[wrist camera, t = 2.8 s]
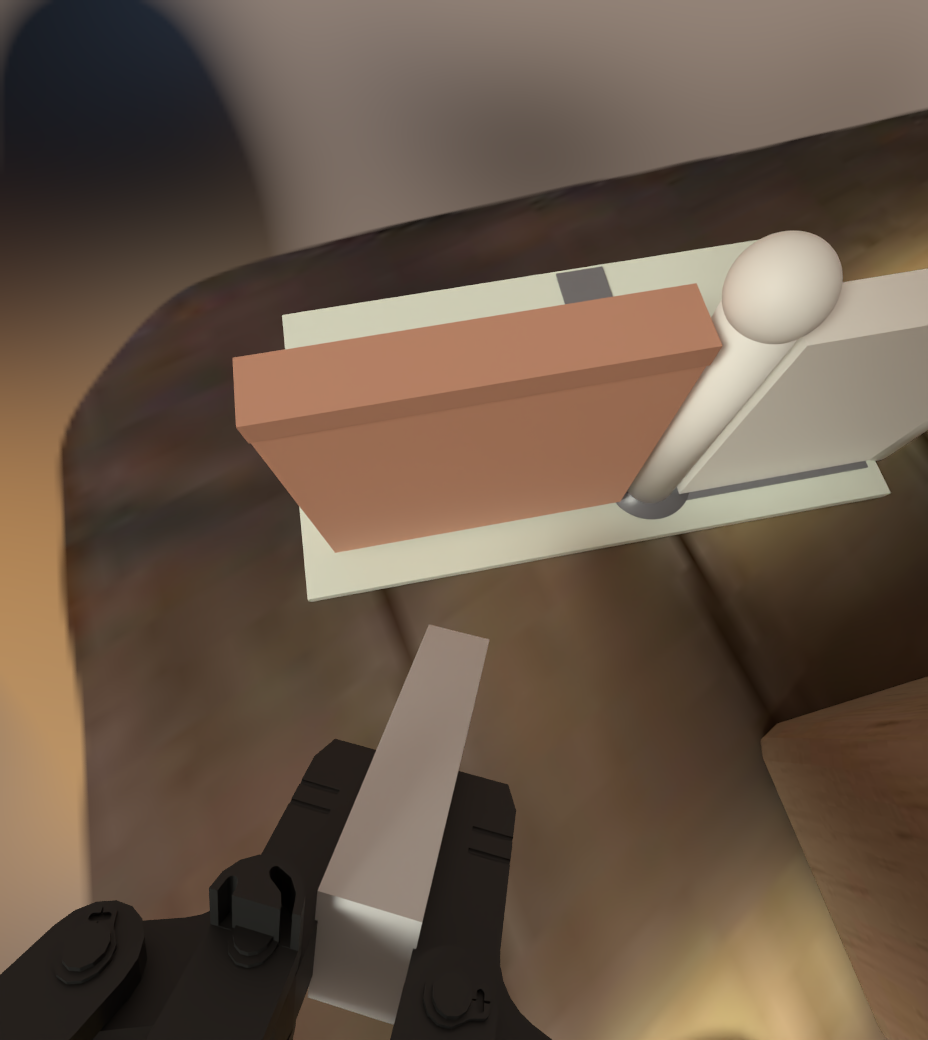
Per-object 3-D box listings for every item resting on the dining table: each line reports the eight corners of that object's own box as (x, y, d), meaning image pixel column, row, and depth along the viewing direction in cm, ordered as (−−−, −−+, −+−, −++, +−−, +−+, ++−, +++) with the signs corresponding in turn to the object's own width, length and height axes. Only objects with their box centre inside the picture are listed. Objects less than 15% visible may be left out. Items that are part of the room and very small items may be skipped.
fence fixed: (878, 411, 26) (1223, 137, 14) (904, 462, 25) (1297, 216, 13) (610, 458, 25) (733, 213, 13) (627, 512, 24) (774, 301, 12)
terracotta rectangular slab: (607, 461, 25) (696, 283, 15) (620, 503, 24) (722, 345, 14) (330, 510, 24) (232, 357, 14) (335, 555, 23) (236, 427, 14)
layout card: (763, 244, 30) (767, 236, 29) (884, 496, 25) (892, 491, 24) (284, 320, 29) (281, 313, 28) (310, 601, 24) (307, 599, 23)
